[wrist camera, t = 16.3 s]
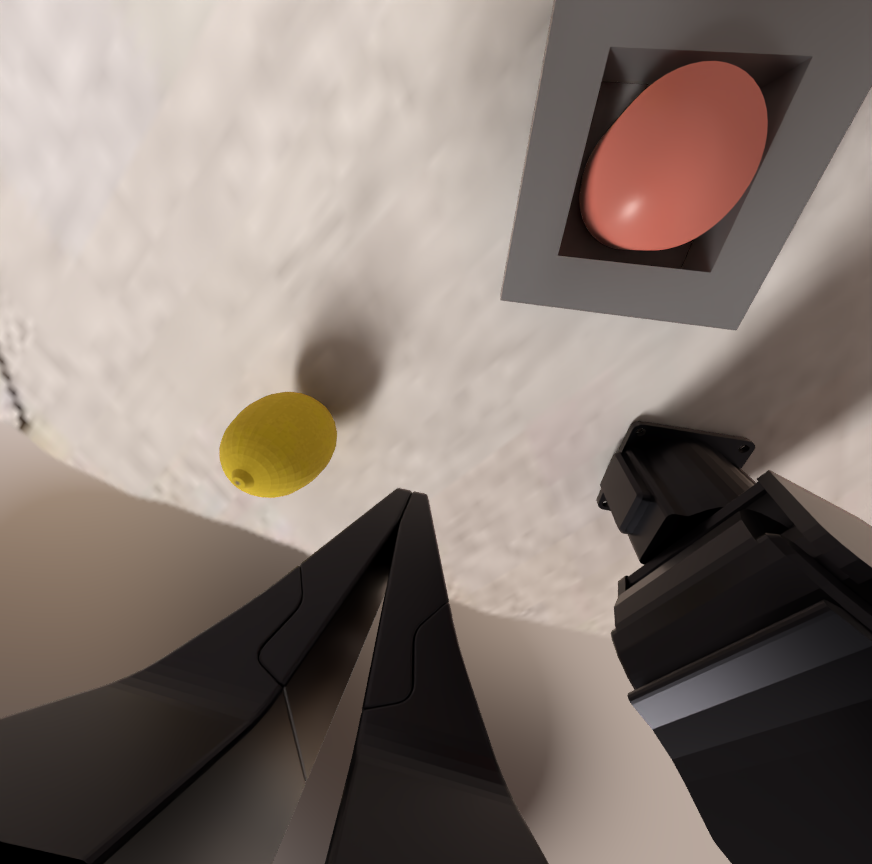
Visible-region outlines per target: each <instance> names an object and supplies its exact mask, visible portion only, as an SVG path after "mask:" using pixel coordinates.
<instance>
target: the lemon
mask: <svg viewBox="0 0 872 864" xmlns="http://www.w3.org/2000/svg"><path fill="white" fill-rule="evenodd" d="M336 440H337V430H336V426H335V422H334V420H333V418H332V416H331V414H330V412H329V411H328V410H327V408H326V407H325V406H324V405H323V404H321V403H320V402H319V401H317V400H316V399H314V398H312V397H310V396H308V395H305V394H302V393H295V392H282V393H276V394H271V395H268V396H265V397H263V398H261V399H259V400H257V401H255V402H253V403H252V404H250V405H249V406H247V407H246V408H245V409H244V410H242V411H241V412H240V413H239V414H238V416H237V417H236V418H235V419H234V420H233V421H232V422H231V424H230V425H229V426H228V428H227V429H226V431H225V433H224V435H223V438H222V440H221V444H220V462H221V465H222V468H223V471H224V473H225V475H226V476H227V478H228V479H229V480H230V481H231V483H232V484H234V485H235V486H236V487H237V488H239V489H240V490H242V491H244V492H246V493H248V494H250V495H254V496H258V497H268V498H275V497H280V496H285V495H288V494H291V493H293V492H295V491H297V490H299V489H301V488H302V487H304V486H306V485H307V484H309V483H310V482H311V481H313V480H314V479H315V478H316V477H317V476H318V475H319V474H320V473H321V472H322V470H323V469H324V468H325V467H326V466H327V464H328V463H329V461H330V459H331V457H332V455H333V452H334V450H335V447H336Z"/></svg>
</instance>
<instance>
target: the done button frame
mask: <svg viewBox="0 0 872 864" xmlns="http://www.w3.org/2000/svg"><path fill="white" fill-rule="evenodd" d="M702 61H720V62H727V63H729V64H732V65H735V66H737V67H739V68H741V69H742V70H744V71H746V72H747V73H748V74H749V75H750V76H751V77H752V78H753V79H754V80H755V82H756V83H757V85H758V86H759V88H760V90H761V92H762V95H763V97H764V100H765V104H766V108H767V119H768V126H767V137H766V143H765V148H764V151H763V155H762V158H761V161H760V163H759V166H758V168H757V171H756V173H755V175H754V177H753V179H752V181H751V183H750V184H749V186H748V188H747V189H746V191H745V192H744V194H743V195H742V197H741V198H740V199H739V201H738V202H737V203H736V204H735V206H734V207H733V208H732V209H731V210H730V211H729V212H728V213H727V214H726V215H725V216H724V217H723V218H722V219H721V220H720V221H719V222H718V223H717V224H716V225H714V226H713V227H712V228H710V229H709V230H708V231H706V232H705V233H703V234H702V235H700V236H698V237H697V238H695V239H694V240H693V243H692V245H691V247H690V250H689V252H688V254H687V257H686V259H685V261H684V264H683V266H682V268H681V269H674V268H665V267H656V266H647V265H638V264H629V263H620V262H611V261H602V260H593V259H584V258H576V257H567V256H558V253H559V249H560V245H561V241H562V237H563V233H564V229H565V225H566V221H567V217H568V213H569V209H570V205H571V201H572V197H573V193H574V189H575V185H576V181H577V177H578V173H579V169H580V165H581V161H582V157H583V153H584V149H585V145H586V141H587V137H588V133H589V129H590V125H591V121H592V117H593V113H594V109H595V105H596V101H597V97H598V93H599V89H600V85H601V81H603V82H621V83H638V84H653V83H654V82H655V81H657V80H658V79H660V78H661V77H663V76H664V75H666V74H668V73H670V72H672V71H674V70H676V69H678V68H680V67H683V66H686V65H689V64H692V63H697V62H702ZM871 86H872V0H554V5H553V10H552V16H551V21H550V27H549V32H548V38H547V43H546V49H545V54H544V60H543V65H542V70H541V76H540V81H539V87H538V92H537V98H536V103H535V109H534V114H533V120H532V125H531V131H530V136H529V142H528V147H527V153H526V158H525V164H524V169H523V174H522V180H521V185H520V191H519V196H518V202H517V207H516V213H515V218H514V224H513V229H512V235H511V240H510V246H509V251H508V257H507V262H506V268H505V273H504V279H503V284H502V289H501V300H502V301H510V302H518V303H526V304H534V305H541V306H549V307H557V308H565V309H573V310H581V311H588V312H596V313H604V314H612V315H620V316H628V317H635V318H643V319H651V320H659V321H667V322H675V323H682V324H690V325H698V326H706V327H714V328H722V329H729V330H737V329H738V327H739V325H740V323H741V321H742V320H743V318H744V316H745V314H746V312H747V311H748V309H749V307H750V305H751V303H752V302H753V300H754V298H755V296H756V294H757V292H758V291H759V289H760V287H761V285H762V283H763V282H764V280H765V278H766V276H767V274H768V273H769V271H770V269H771V267H772V265H773V264H774V262H775V260H776V258H777V256H778V254H779V253H780V251H781V249H782V247H783V245H784V244H785V242H786V240H787V238H788V236H789V235H790V233H791V231H792V229H793V227H794V226H795V224H796V222H797V220H798V218H799V216H800V215H801V213H802V211H803V209H804V207H805V206H806V204H807V202H808V200H809V198H810V197H811V195H812V193H813V191H814V189H815V188H816V186H817V184H818V182H819V180H820V179H821V177H822V175H823V173H824V171H825V169H826V168H827V166H828V164H829V162H830V160H831V159H832V157H833V155H834V153H835V151H836V150H837V148H838V146H839V144H840V142H841V141H842V139H843V137H844V135H845V133H846V131H847V130H848V128H849V126H850V124H851V122H852V121H853V119H854V117H855V115H856V113H857V112H858V110H859V108H860V106H861V104H862V103H863V101H864V99H865V97H866V95H867V93H868V92H869V90H870V88H871Z"/></svg>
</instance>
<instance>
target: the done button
mask: <svg viewBox="0 0 872 864" xmlns="http://www.w3.org/2000/svg"><path fill="white" fill-rule="evenodd" d="M767 126H768V119H767V108H766V104H765V100H764V97H763V95H762V92H761V90H760V88H759V86H758V85H757V83H756V82H755V80H754V79H753V78H752V77H751V76H750V75H749V74H748V73H747V72H746V71H744V70H742V69H741V68H739V67H737V66H735V65H732V64H729V63H727V62H720V61H702V62H697V63H692V64H689V65H686V66H683V67H680V68H678V69H676V70H674V71H672V72H670V73H668V74H666V75H664V76H663V77H661V78H660V79H658V80H657V81H655V82H654V83H653V84H651V85H650V86H649V87H648V88H647V89H645V90H644V91H643V92H642V93H641V94H640V95H639V96H638V97H637V98H636V99H635V100H634V101H633V102H632V103H631V104H630V106H629V107H628V108H627V109H626V110H625V111H624V112H623V113H622V115H621V116H620V117H619V118H618V119H617V120H616V121H615V122H614V123H613V125H612V126H611V127H610V128H609V129H608V130H607V131H606V133H605V134H604V135H603V136H602V138H601V139H600V140H599V142H598V143H597V145H596V146H595V148H594V149H593V151H592V153H591V155H590V157H589V159H588V161H587V164H586V166H585V169H584V172H583V175H582V180H581V185H580V194H579V201H580V210H581V215H582V218H583V221H584V223H585V226H586V228H587V229H588V231H589V232H590V234H591V235H592V236H593V237H594V238H595V239H596V240H598V241H599V242H600V243H602V244H604V245H605V246H608V247H610V248H613V249H619V250H663V249H668V248H673V247H676V246H679V245H682V244H684V243H687V242H689V241H691V240H693V239H695V238H697V237H698V236H700V235H702V234H703V233H705V232H706V231H708V230H709V229H710V228H712V227H713V226H714V225H716V224H717V223H718V222H719V221H720V220H721V219H722V218H723V217H724V216H725V215H726V214H727V213H728V212H729V211H730V210H731V209H732V208H733V207H734V206H735V204H736V203H737V202H738V201H739V199H740V198H741V197H742V195H743V194H744V192H745V191H746V189H747V188H748V186H749V184H750V183H751V181H752V179H753V177H754V175H755V173H756V171H757V168H758V166H759V163H760V161H761V158H762V155H763V151H764V148H765V143H766V137H767Z"/></svg>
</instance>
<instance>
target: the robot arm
mask: <svg viewBox="0 0 872 864" xmlns="http://www.w3.org/2000/svg"><path fill="white" fill-rule="evenodd" d="M640 428H643V430H642V431H641V432H639V433H636V431H637V430H638V429H640ZM743 445H745V446H744V447H743V448H741V449H739V448H740V447H741V446H743ZM754 449H755V445H754V443H753V442H751V441H750V440H749V439H747V438H743V437H737V436H730V435H724V434H718V433H711V432H705V431H699V430H693V429H686V428H680V427H674V426H667V425H661V424H655V423H649V422H642V421H638V422H635V423H633V424H632V425H631V426H630V427H629V429H628V431H627V434H626V436H625V438H624V440H623V442H622V444H621V447H620V449H619V451H618V452H616V453H615V454H614V455H613V457H612V459H611V461H610V464H609V466H608V468H607V470H606V473H605V475H604V477H603V479H602V481H601V484H600V486H601V490H600V493H599V495H598V497H597V503H598V506H599V507H600V508H601V509H604V510H609V511H611V512H612V515H613V517H614V520H615V522H616V524H617V527H618V529H619V530H620V531H621V533H624V534H628V536H629V539H630V541H631V543H632V545H633V548H634V550H635V552H636V554H637V557H638V559H639V561H640V563H642V564H644V566H642V567H641V568H640V569H638V570H637V571H635V572H634V573H633V574H631V575H630V576H625V577H623V578H622V579H621V580H619V581H618V599H617V601H616V604H615V606H614V615H615V627H616V628H615V629H614V630H612V632H611V636H612V641H613V644H614V647H615V650H616V653H617V656H618V658H619V660H620V662H621V664H622V666H623V669H624V671H625V673H626V675H627V677H628V679H629V681H630V683H631V684H632V686H633V688H634V689H635V690H634V691H632V692H630V693H628V699H629V701H630V703H631V704H632V705H633V707H634V708H635V709H636V710H637V711H638V713H639V714H640V715H641V716H642V717H643V719H644V720H645V721H646V722H647V724H648V725H649V726H650V727H651V728H652V730H653V731H654V733H655V734H656V736H657V737H658V739H659V740H660V742H661V744H662V745H663V747H664V748H665V750H666V751H667V753H668V754H669V756H670V757H671V759H672V761H673V762H674V764H675V766H676V768H677V770H678V772H679V773H680V775H681V777H682V779H683V781H684V783H685V785H686V787H687V789H688V791H689V793H690V795H691V797H692V799H693V801H694V803H695V805H696V807H697V809H698V811H699V813H700V815H701V817H702V819H703V821H704V823H705V825H706V827H707V829H708V831H709V833H710V835H711V837H712V839H713V840H714V842H715V843H716V845H717V846H718V847H719V848H720V850H721V851H722V852H723V853H724V855H725V856H726V857H727V858H728V860H729V861H730V862H731V863H732V864H872V526H870V525H869V524H867V523H866V522H864V521H863V520H861V519H860V518H858V517H856V516H854V515H853V514H851V513H849V512H847V511H845V510H843V509H841V508H840V507H838V506H836V505H834V504H832V503H830V502H828V501H826V500H825V499H823V498H821V497H819V496H817V495H815V494H813V493H811V492H810V491H808V490H806V489H804V488H802V487H800V486H798V485H797V484H795V483H793V482H791V481H789V480H787V479H785V478H783V477H782V476H780V475H778V474H776V473H774V472H772V471H770V470H768V471H767V472H766V473H764V474H763V475H762V476H760V477H759V478H758V479H757V480H758V482H757V483H756V482H755V481H754V480H753V479H751V478H750V477H749V476H748V475H747V474H746V473H745V472H744V471H743V470H742V469H741V468H742V466H743V465H744V464H745V462H746V461H747V459H748V458H749V457H750V455H751V454H752V452H753V451H754ZM604 501H607V502H606V503H603V502H604ZM384 594H385V597H384ZM383 597H384V602H383V607H382V611H381V617H380V622H379V626H378V632H377V637H376V642H375V647H374V652H373V657H372V662H371V667H370V672H369V677H368V682H367V687H366V692H365V697H364V702H363V707H362V713H361V718H360V722H359V727H358V732H357V737H356V741H355V745H354V750H353V754H352V759H351V763H350V767H349V771H348V775H347V779H346V783H345V787H344V791H343V795H342V798H341V803H340V806H339V810H338V814H337V818H336V822H335V826H334V830H333V834H332V838H331V842H330V846H329V850H328V854H327V858H326V861H325V864H548V862H547V860H546V858H545V856H544V854H543V853H542V851H541V849H540V847H539V845H538V844H537V842H536V840H535V838H534V836H533V835H532V833H531V831H530V829H529V827H528V826H527V824H526V822H525V820H524V818H523V817H522V815H521V813H520V811H519V809H518V807H517V806H516V804H515V802H514V800H513V798H512V796H511V794H510V792H509V789H508V787H507V785H506V782H505V780H504V778H503V775H502V773H501V770H500V768H499V765H498V763H497V760H496V757H495V754H494V752H493V749H492V746H491V743H490V740H489V737H488V734H487V731H486V728H485V725H484V722H483V719H482V716H481V713H480V710H479V707H478V704H477V701H476V698H475V695H474V692H473V689H472V686H471V683H470V680H469V677H468V674H467V671H466V667H465V664H464V661H463V657H462V654H461V650H460V647H459V644H458V639H457V635H456V631H455V627H454V623H453V618H452V613H451V608H450V604H449V599H448V594H447V589H446V584H445V579H444V574H443V569H442V564H441V559H440V554H439V549H438V544H437V539H436V534H435V530H434V525H433V520H432V515H431V510H430V505H429V500H428V496H427V495H426V494H424V493H419V492H413V493H412V492H411V491H410V490H406V489H401V488H397V489H396V490H394V491H393V492H392V493H390V494H389V495H388V496H387V497H385V498H384V499H383V500H382V501H380V502H379V503H378V504H376V505H375V506H374V507H373V508H371V509H370V510H369V511H367V512H366V513H365V514H364V515H362V516H361V517H360V518H358V519H357V520H356V521H355V522H353V523H352V524H351V525H350V526H348V527H347V528H346V529H344V530H343V531H342V532H341V533H339V534H338V535H337V536H335V537H334V538H333V539H332V540H330V541H329V542H328V543H327V544H325V545H324V546H323V547H321V548H320V549H319V550H318V551H316V552H315V553H314V554H312V555H311V556H310V557H309V558H307V559H306V560H305V561H304V562H302V563H301V564H300V566H297V567H296V568H294V569H293V570H292V571H291V572H289V573H288V574H287V575H285V576H284V577H283V578H282V579H280V580H279V581H277V582H276V583H275V584H273V585H272V586H271V587H269V588H268V589H267V590H265V591H264V592H263V593H261V594H260V595H258V596H257V597H255V598H254V599H252V600H251V601H249V602H248V603H246V604H245V605H243V606H242V607H240V608H239V609H237V610H236V611H235V612H233V613H231V614H230V615H228V616H227V617H225V618H224V619H222V620H221V621H219V622H217V623H216V624H214V625H213V626H211V627H210V628H208V629H207V630H205V631H204V632H202V633H200V634H199V635H197V636H196V637H194V638H193V639H191V640H190V641H188V642H186V643H185V644H183V645H182V646H180V647H179V648H177V649H176V650H174V651H173V652H171V653H169V654H168V655H166V656H165V657H163V658H161V659H160V660H158V661H156V662H155V663H153V664H151V665H149V666H147V667H145V668H144V669H142V670H140V671H138V672H136V673H133V674H131V675H129V676H127V677H125V678H122V679H120V680H117V681H115V682H112V683H109V684H106V685H103V686H100V687H97V688H94V689H91V690H88V691H84V692H81V693H78V694H75V695H72V696H69V697H66V698H62V699H59V700H56V701H53V702H50V703H47V704H43V705H40V706H37V707H34V708H31V709H27V710H24V711H21V712H18V713H15V714H12V715H9V716H5V717H2V718H0V864H272V863H273V861H274V858H275V856H276V854H277V851H278V849H279V846H280V844H281V842H282V839H283V837H284V835H285V832H286V829H287V827H288V825H289V823H290V820H291V818H292V815H293V813H294V811H295V808H296V806H297V803H298V801H299V799H300V796H301V794H302V791H303V789H304V786H305V784H306V783H305V781H306V780H307V779H308V777H309V774H310V772H311V770H312V767H313V765H314V762H315V760H316V757H317V755H318V752H319V750H320V748H321V745H322V743H323V741H324V738H325V736H326V734H327V731H328V729H329V726H330V724H331V722H332V719H333V717H334V714H335V712H336V710H337V707H338V705H339V702H340V700H341V697H342V695H343V693H344V690H345V688H346V685H347V683H348V681H349V678H350V676H351V674H352V671H353V668H354V666H355V664H356V662H357V659H358V657H359V654H360V652H361V649H362V647H363V645H364V642H365V640H366V638H367V635H368V633H369V630H370V628H371V626H372V623H373V621H374V618H375V616H376V614H377V611H378V609H379V606H380V604H381V601H382V599H383Z"/></svg>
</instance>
